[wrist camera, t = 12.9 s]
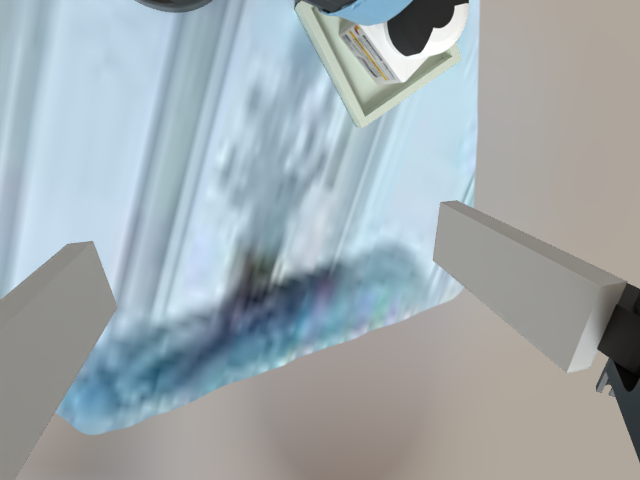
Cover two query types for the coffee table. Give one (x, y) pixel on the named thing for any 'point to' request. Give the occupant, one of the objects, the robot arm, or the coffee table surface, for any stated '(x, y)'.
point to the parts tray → (352, 78)
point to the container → (406, 38)
